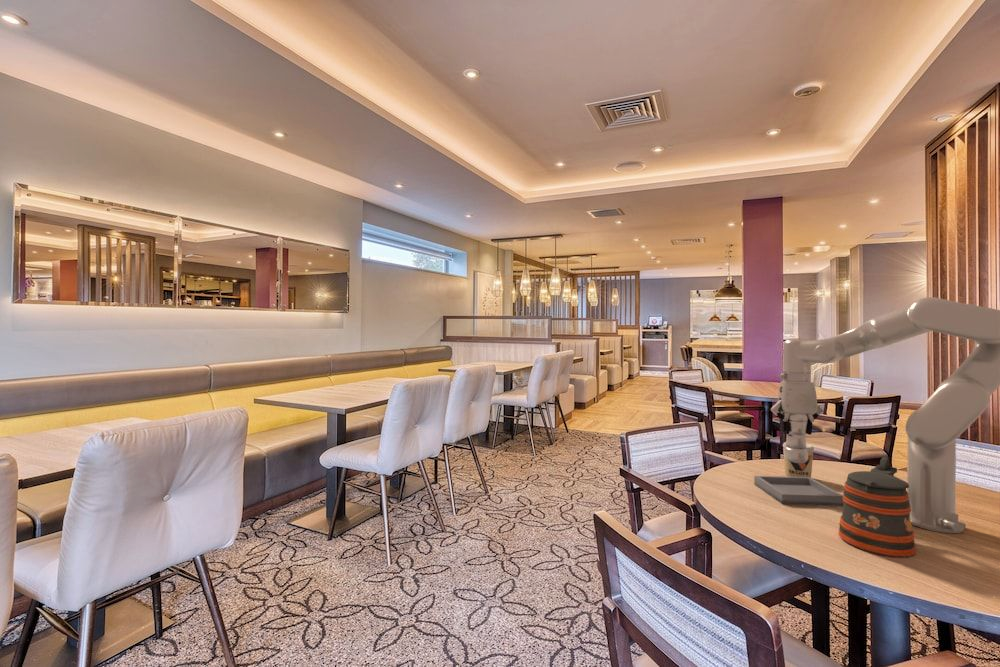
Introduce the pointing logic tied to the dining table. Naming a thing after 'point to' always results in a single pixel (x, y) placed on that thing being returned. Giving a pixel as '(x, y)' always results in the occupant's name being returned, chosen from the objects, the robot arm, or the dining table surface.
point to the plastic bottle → (796, 439)
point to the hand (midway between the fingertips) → (796, 432)
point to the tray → (798, 491)
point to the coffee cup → (799, 465)
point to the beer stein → (877, 512)
